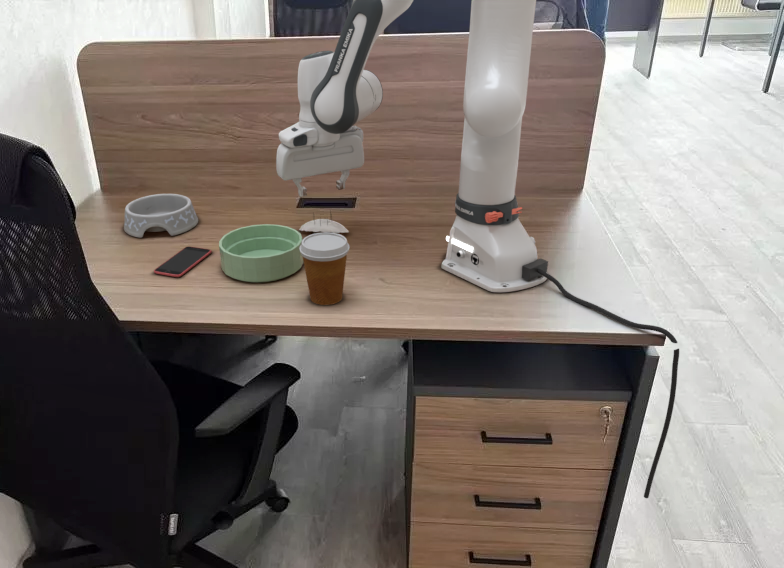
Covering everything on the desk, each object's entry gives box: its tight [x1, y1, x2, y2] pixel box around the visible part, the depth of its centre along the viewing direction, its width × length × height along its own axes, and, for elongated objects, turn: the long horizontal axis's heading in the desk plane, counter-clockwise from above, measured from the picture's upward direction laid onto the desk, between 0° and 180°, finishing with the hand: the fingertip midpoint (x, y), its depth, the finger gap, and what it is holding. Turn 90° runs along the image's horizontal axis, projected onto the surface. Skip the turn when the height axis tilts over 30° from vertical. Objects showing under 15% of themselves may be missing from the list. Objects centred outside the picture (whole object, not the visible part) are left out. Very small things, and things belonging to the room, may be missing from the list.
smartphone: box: [153, 245, 212, 278], centre depth 160 cm, size 7×1×14 cm
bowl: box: [218, 223, 304, 283], centre depth 155 cm, size 18×18×6 cm
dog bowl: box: [123, 193, 199, 238], centre depth 179 cm, size 17×18×5 cm
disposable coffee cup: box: [299, 232, 351, 306], centre depth 139 cm, size 10×10×12 cm
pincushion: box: [298, 209, 350, 234], centre depth 169 cm, size 12×6×6 cm, turn 75°
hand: (321, 192), depth 165 cm, fingers open, 8 cm apart
